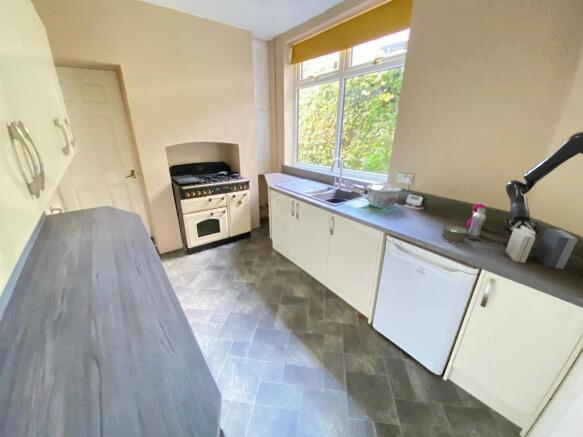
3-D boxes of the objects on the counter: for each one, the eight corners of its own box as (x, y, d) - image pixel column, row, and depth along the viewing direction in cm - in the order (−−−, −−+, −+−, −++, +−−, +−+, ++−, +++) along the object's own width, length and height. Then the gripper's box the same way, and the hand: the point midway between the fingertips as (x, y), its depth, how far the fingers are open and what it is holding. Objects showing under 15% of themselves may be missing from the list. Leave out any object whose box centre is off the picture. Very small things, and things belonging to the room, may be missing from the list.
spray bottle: (474, 233, 150) (483, 204, 143) (462, 229, 156) (471, 200, 149) (480, 232, 153) (490, 202, 146) (469, 228, 159) (478, 199, 152)
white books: (514, 253, 127) (524, 229, 122) (524, 262, 118) (535, 237, 113) (505, 251, 129) (513, 228, 124) (514, 261, 119) (524, 236, 114)
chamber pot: (402, 206, 203) (407, 182, 195) (390, 214, 184) (394, 188, 176) (372, 199, 221) (375, 177, 213) (357, 206, 202) (360, 182, 194)
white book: (515, 248, 132) (524, 225, 127) (525, 258, 122) (535, 233, 117) (511, 248, 132) (520, 225, 127) (520, 257, 123) (530, 233, 118)
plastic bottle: (464, 239, 142) (474, 208, 135) (466, 236, 147) (475, 205, 139) (477, 243, 138) (488, 211, 131) (479, 239, 142) (489, 208, 135)
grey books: (549, 258, 122) (562, 230, 117) (563, 269, 113) (578, 239, 107) (534, 255, 124) (546, 228, 119) (546, 266, 115) (559, 236, 109)
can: (466, 239, 142) (469, 229, 140) (461, 245, 134) (464, 234, 132) (443, 233, 150) (446, 223, 148) (438, 238, 142) (440, 228, 140)
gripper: (507, 207, 131) (509, 234, 125) (540, 210, 126) (544, 238, 120) (500, 213, 137) (502, 239, 131) (531, 217, 132) (534, 243, 127)
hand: (522, 239), depth 126 cm, fingers open, 8 cm apart
